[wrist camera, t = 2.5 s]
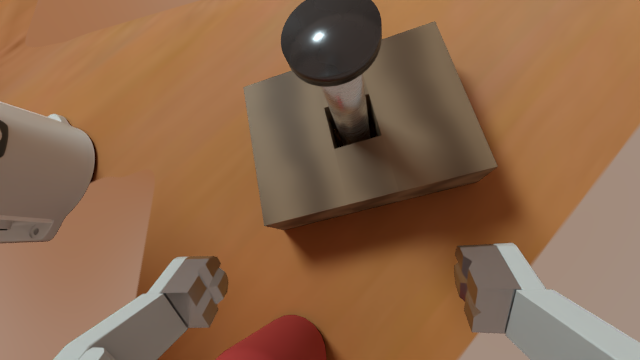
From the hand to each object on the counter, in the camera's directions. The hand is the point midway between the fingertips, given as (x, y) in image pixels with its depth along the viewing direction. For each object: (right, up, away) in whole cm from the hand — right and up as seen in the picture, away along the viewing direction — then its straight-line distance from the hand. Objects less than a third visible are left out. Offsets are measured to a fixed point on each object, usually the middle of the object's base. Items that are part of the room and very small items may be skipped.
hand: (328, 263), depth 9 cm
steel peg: (+4, +7, +21) cm, 22 cm away
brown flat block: (+4, +7, +21) cm, 22 cm away
